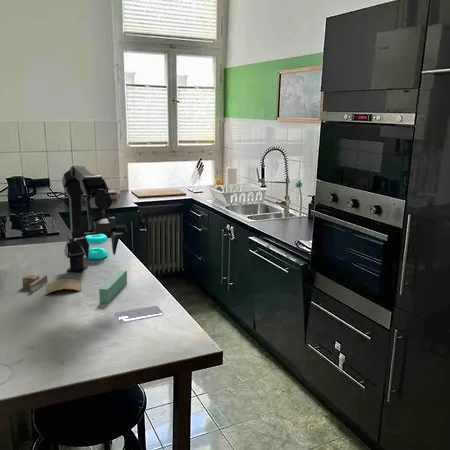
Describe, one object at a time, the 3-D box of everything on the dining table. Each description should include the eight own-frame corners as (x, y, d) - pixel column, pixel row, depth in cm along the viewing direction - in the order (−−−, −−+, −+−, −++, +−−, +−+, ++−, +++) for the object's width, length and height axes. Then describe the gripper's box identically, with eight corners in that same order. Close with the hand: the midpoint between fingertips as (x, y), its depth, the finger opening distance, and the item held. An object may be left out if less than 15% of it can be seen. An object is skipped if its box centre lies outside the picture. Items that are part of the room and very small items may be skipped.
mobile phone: (164, 313, 148) (118, 321, 142) (164, 315, 149) (118, 324, 142) (157, 304, 155) (113, 312, 148) (157, 307, 155) (113, 314, 149)
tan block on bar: (17, 291, 165) (16, 281, 165) (32, 281, 175) (31, 271, 174) (33, 292, 165) (33, 282, 164) (47, 282, 174) (46, 272, 174)
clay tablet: (82, 283, 176) (82, 276, 175) (84, 293, 167) (84, 286, 166) (42, 287, 171) (42, 281, 170) (42, 298, 162) (41, 290, 161)
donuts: (103, 238, 199) (80, 238, 200) (104, 260, 202) (82, 259, 202) (109, 233, 209) (88, 232, 209) (110, 253, 211) (89, 253, 212)
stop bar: (119, 282, 176) (119, 269, 175) (127, 282, 176) (126, 270, 175) (99, 302, 157) (99, 288, 156) (108, 303, 157) (107, 289, 155)
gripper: (72, 213, 145) (78, 261, 146) (129, 207, 155) (134, 253, 155) (66, 214, 155) (71, 260, 156) (119, 209, 164) (124, 252, 165)
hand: (101, 256), depth 158 cm, fingers open, 9 cm apart
